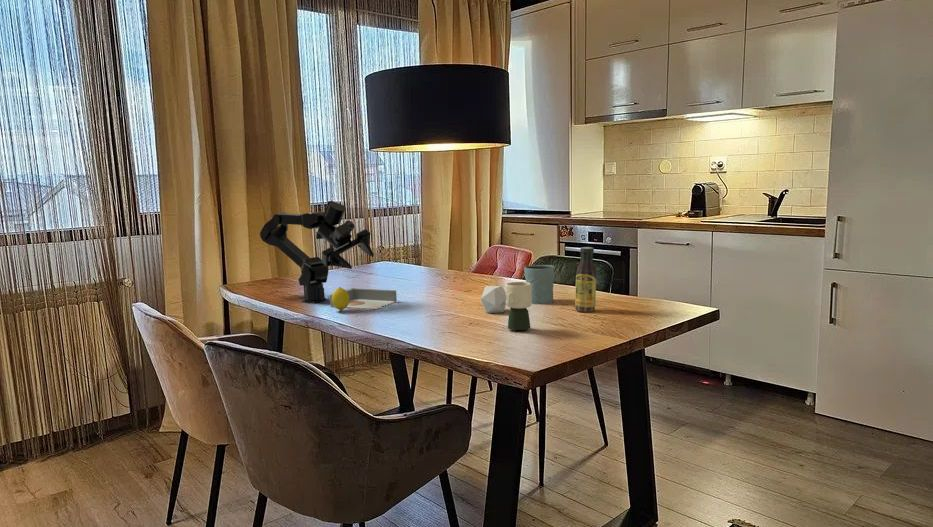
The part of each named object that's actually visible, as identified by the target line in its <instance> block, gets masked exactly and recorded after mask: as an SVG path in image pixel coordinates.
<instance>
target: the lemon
mask: <svg viewBox="0 0 933 527" xmlns="http://www.w3.org/2000/svg"><path fill="white" fill-rule="evenodd" d="M346 290H347V289H346V288H345V289H344V288H343V287H340V286H339V287H338V288H336V289H335V290H334V291H333V293H332V294H333V295H332V294H331V295H332V303H333V305H334V307H333V308H335V309H337V310H339V311H340V312H342V311H343V310H345V309H347V308H346V307H347V306H348V304H349V295H348V293H347V291H346Z"/></svg>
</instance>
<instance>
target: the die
mask: <svg viewBox="0 0 933 527" xmlns="http://www.w3.org/2000/svg"><path fill="white" fill-rule="evenodd" d="M480 297H481V298H480V303H481V305H482V307H483V309H484V311H485V313H486V314H499V313H504V311H505V309H506V307H507V305H506V299H507V296H506V292H505V289H504V287H503V286H502V285H496V286H495V285H493V286H491V285H489V286H486V285H485V286H484V290H483V292H482V294H481V296H480Z"/></svg>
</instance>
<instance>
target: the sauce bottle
mask: <svg viewBox="0 0 933 527" xmlns="http://www.w3.org/2000/svg"><path fill="white" fill-rule="evenodd" d="M594 251H595V248H594V247H592V246H590V247H589V246H583V247H580V251H579V252H580V262H579V264H578V266H577V268H576V273H575V274H576V275H575V293H574V294H575V298H574V305H575V308H574V309H575V311H577V312H580V313H592V312H594V311H595V310H596V309H595V308H596V298H597V297H596V296H597V294H596V293H597V268H596V266H595V264H594Z"/></svg>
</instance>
